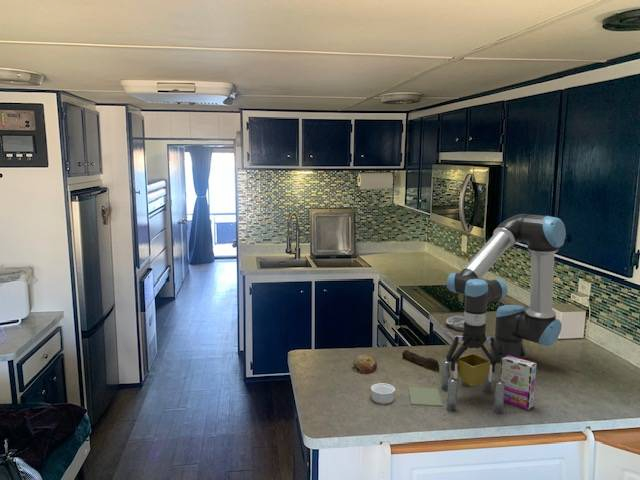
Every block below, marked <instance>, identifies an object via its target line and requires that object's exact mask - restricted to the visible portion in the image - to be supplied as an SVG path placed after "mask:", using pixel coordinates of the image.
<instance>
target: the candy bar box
mask: <svg viewBox="0 0 640 480" xmlns="http://www.w3.org/2000/svg"><path fill="white" fill-rule="evenodd" d="M537 365H538V363H537V362H535V361H530V360H523V359H520V358H516V357H513V356H509V355H507V356H505V357H503V358H502V360H501V362H500V377H499V378H500V379H499V380H502V381H504V382H505V389H504V403H506V404H508V405H512V406H515V407H517V408H520V409H524V410H526V411H529V410H530V409H532V408H533V407H534V406H535V395H536V393H535V391H536V381H537V379H536V378H537V367H538V366H537Z"/></svg>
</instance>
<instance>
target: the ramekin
mask: <svg viewBox="0 0 640 480" xmlns="http://www.w3.org/2000/svg"><path fill="white" fill-rule="evenodd" d="M370 390H371V399H372V400H373V402H376V403H377V404H381V405H385V404H387V405H388V404H390V403H392V402H394V399H395V392H396V388H395V386H393V385H392V384H390V383H383V382H380V383H374V384H372V385H371V387H370Z"/></svg>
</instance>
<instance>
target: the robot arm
mask: <svg viewBox="0 0 640 480" xmlns="http://www.w3.org/2000/svg"><path fill="white" fill-rule="evenodd" d="M565 226H566V225H565V224H564V221H562V219H561V218H559V217H556V216H555V217H554V216H551V215H539V214H529V213H520V214H516V215H513V216H511V217H509V218H507V219H506V220H503V222H501V223H500V224H499V225H497V226H496V228H495V229H494V230H493V233H492V236H491V237H490V238H489V239H488V240H487V242H486V243H485V244H484V245H483V246H482V247H481V249H480V250H479V251H478V252H477V253H476V254H475V256H473V258H472V259H470V261H469V262H468V263H467V264H466V265H465V266H464V267H463V268H462V270H461V271H459V272H452V273H450V274H449V275H448V276H447V279H446V282H445V283H446V284H445V285H446V289H448V291H449V292H453V293H455V294H458V295H459V294H460V295H463V296H464V313H463V317H464V321H465V322H464V331H462V335H458V334H454V336H453V341H452V343H451V346H450V348H449V350H448V351H447V354H446V356H445V360H447V361H450V362H451V368H450V371H451V372H453V378H456V379H457V380H458V370H457V360H458V359H459V357H462V355H463V354H464V353H465V351H467V350H468V349H479V348H481V350H482V352H483V353H484V354H485V356H486V357H487V358H488V361H490V367H489V372H488V380H489V382H491V379H492V372H494V373H495V372H496V371H495V370H496V365H497V364H501V360H502V358H503V357H505V356H507V355H509V356H513V357H516V358H520V359H523V360H526V358H527V353H526V348H525V346H524V340H525V341H529V342H532V343H535V344H538V345H542V346H546V347H549V346H552V345H554V344H555V343H556V342H557V340H558V339H559V337H560V334H561V332H562V326H563V325H562V321H561V320H559V319H557V313H556V311H555V310H554V309H553V299H554V270H555V254H556V253H557V252H558V251H559V249H560V247H563V245H564V243H565V240H566V237H567V234H566V233H567V232H566V227H565ZM516 243H527V250H528V251H529V252H530V253H531V254H530V284H529V285H530V287H529V307H528V308H527V309H526V307H525V306H524V305H519V304H504V305H501V306H499V307H498V308H497V309H496V315H495V328H494V336H493V335H489V336H486V330H487V329H486V328H487V326H486V323H487V305H488V304H491V303H494V302H497V301H498V302H499V301H500V300H502V299H505V297H506V296H507V295H508V291H509V290H508V286H507V284H506V283H505V281H503V280H502V279H491V280H489V279H485V278H483V277H484V276H485V274H486V273H487V272H488V271H489V270H490V269H491V267H493V265H494V264H495V263H496V262H497V261H498V260H499V258H501V257H502V255H503V254H504V253H505V251H506V250H507V249H508V248H510V247H513V246H515V244H516ZM461 340H462V341H463V343H462V344H461V345H460V347H459V349H457V347H458V345H459V343H460V342H461ZM486 342H488V343H489V345H490V349H489V351H488V349H487V347H486V346H485V345H484V344H485V343H486ZM456 349H457V351H456ZM455 351H456V352H455Z"/></svg>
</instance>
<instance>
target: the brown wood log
mask: <svg viewBox="0 0 640 480" xmlns="http://www.w3.org/2000/svg"><path fill="white" fill-rule="evenodd" d="M401 356H402V359H405V360H408V361H411V362H413V363H416V364H418V365H421V366H423V367H425V368H426V369H427V370H431V371H433V372H440V364H439V361H438V360H437V359H434V358H432V357H425V356H422V355H419V354H417V353H414V352H412V351H410V350H408V349H405V350H403V351H402V353H401Z"/></svg>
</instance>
